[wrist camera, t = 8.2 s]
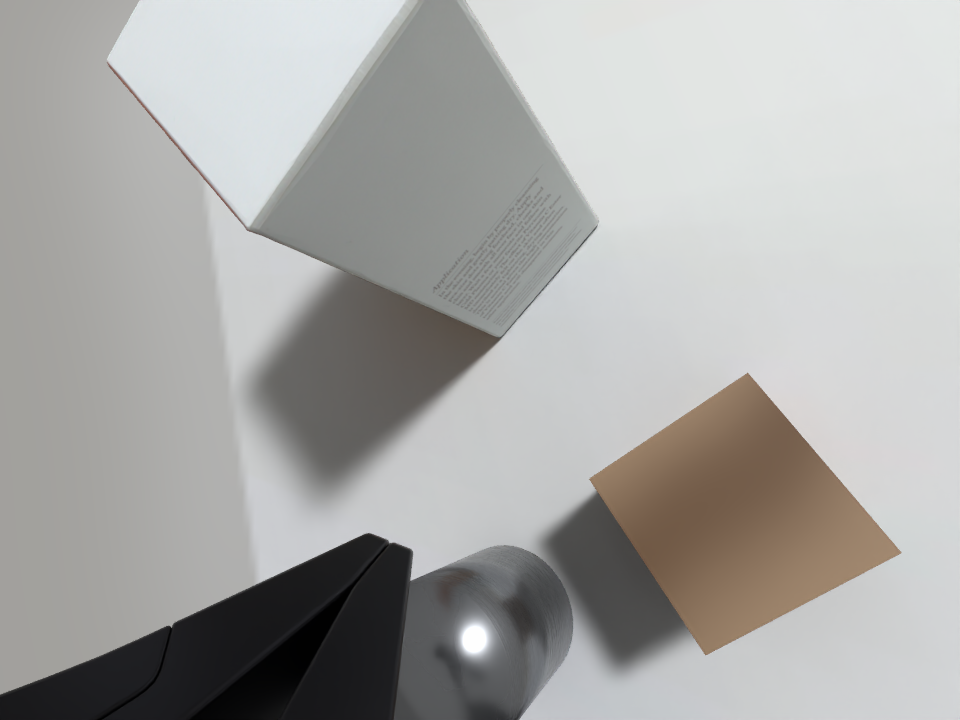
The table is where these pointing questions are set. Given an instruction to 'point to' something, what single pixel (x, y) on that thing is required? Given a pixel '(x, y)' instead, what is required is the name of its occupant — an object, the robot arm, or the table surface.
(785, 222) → the table surface
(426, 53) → the small box
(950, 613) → the table surface
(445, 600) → the charcoal metal cylinder
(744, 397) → the walnut block
